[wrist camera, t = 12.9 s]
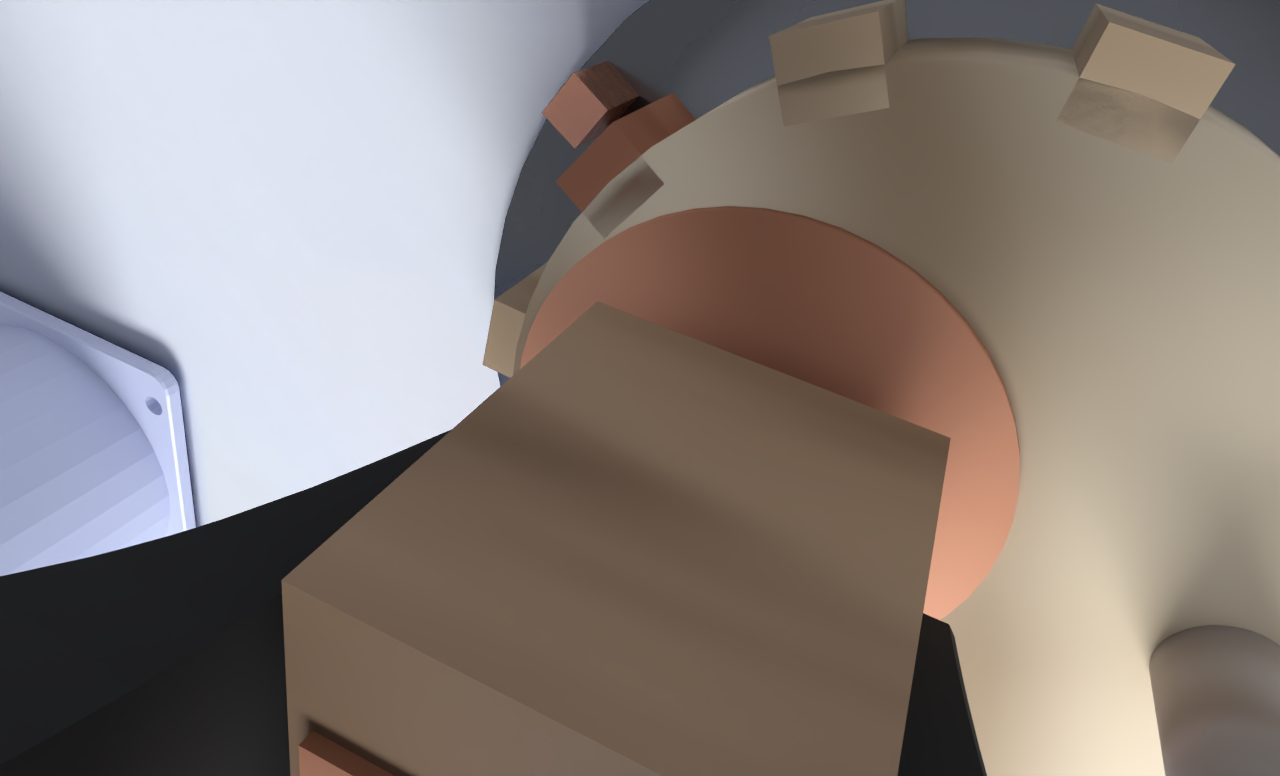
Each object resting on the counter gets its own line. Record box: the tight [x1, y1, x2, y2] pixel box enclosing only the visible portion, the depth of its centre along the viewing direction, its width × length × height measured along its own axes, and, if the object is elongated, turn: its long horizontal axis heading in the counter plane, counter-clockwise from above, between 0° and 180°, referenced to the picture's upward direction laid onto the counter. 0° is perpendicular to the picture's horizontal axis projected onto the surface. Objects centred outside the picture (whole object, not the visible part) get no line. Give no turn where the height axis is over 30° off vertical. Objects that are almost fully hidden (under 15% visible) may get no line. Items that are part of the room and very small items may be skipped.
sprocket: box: [483, 0, 1280, 776], centre depth 11 cm, size 13×13×5 cm
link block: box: [281, 301, 951, 776], centre depth 9 cm, size 4×4×6 cm
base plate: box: [494, 0, 1280, 386], centre depth 13 cm, size 16×16×2 cm
